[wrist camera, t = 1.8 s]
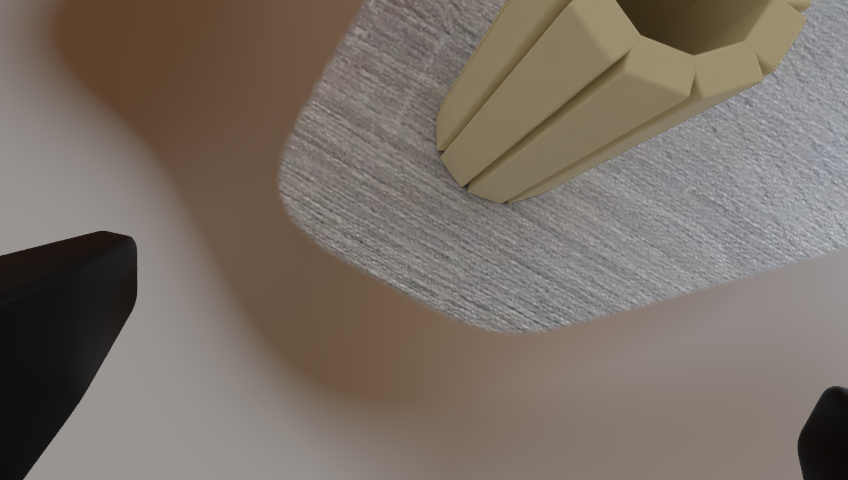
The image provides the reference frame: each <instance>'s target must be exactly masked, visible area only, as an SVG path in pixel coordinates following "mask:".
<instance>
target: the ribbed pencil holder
mask: <svg viewBox="0 0 848 480" xmlns="http://www.w3.org/2000/svg"><path fill="white" fill-rule="evenodd" d="M810 6H811V0H506V2H505V3H504V5H503V6H502V8H501V9H500V11H499V13H498V14H497V16H496V17H495V19H494V21H493V22H492V24H491V25H490V27H489V29H488V30H487V32H486V33H485V35H484V37H483V38H482V40H481V41H480V43H479V44H478V46H477V48H476V49H475V51H474V52H473V54H472V56H471V57H470V59H469V60H468V62H467V64H466V65H465V67H464V68H463V70H462V71H461V73H460V75H459V76H458V78H457V79H456V81H455V83H454V84H453V86H452V87H451V89H450V91H449V92H448V94H447V95H446V97H445V99H444V100H443V102H442V103H441V105H440V111H439V112H438V114H437V150H438V151H445V152H444V153H443V154H442V155H441V157H440V159H441V161H442V162H443V164H444V165H445V166H446V168H447V169H448V170H449V172H450V173H451V175H452V176H453V177H454V179H455V180H456V182H457V183H458V184H459V186H460V187H463V186H464V185H466V184H467V183H469V182H470V183H469V187H468V190H467V191H468V193H471V194H473V195H476V196H479V197H482V198H485V199H488V200H491V201H494V202H496V203H499V204H501V203H503V202H505V201H507V202H508V204H511V203H515V202H518V201H521V200H524V199H527V198H530V197H534V196H537V195H540V194H542V193H544V192H546V191H548V190H550V189H552V188H554V187H556V186H558V185H560V184H562V183H564V182H566V181H568V180H570V179H572V178H574V177H576V176H577V175H579V174H581V173H583V172H585V171H587V170H589V169H591V168H593V167H595V166H597V165H599V164H601V163H603V162H605V161H607V160H609V159H611V158H613V157H615V156H617V155H619V154H621V153H623V152H625V151H627V150H629V149H630V148H632V147H634V146H636V145H638V144H640V143H642V142H644V141H646V140H648V139H650V138H652V137H654V136H656V135H658V134H660V133H662V132H664V131H666V130H668V129H670V128H672V127H674V126H676V125H678V124H680V123H681V122H683V121H685V120H687V119H689V118H691V117H693V116H695V115H697V114H699V113H701V112H703V111H705V110H707V109H709V108H711V107H713V106H715V105H717V104H719V103H721V102H723V101H725V100H727V99H729V98H731V97H733V96H734V95H736V94H738V93H740V92H742V91H744V90H746V89H748V88H750V87H752V86H754V85H756V84H758V83H760V82H762V81H763V80H764V76H766V75H768V74H770V73H772V72H773V71H775V70H776V68H777V67H778V65H779V64H780V62H781V61H782V59H783V58H784V56H785V54H786V53H787V51H788V50H789V48H790V47H791V45H792V44H793V42H794V41H795V39H796V37H797V36H798V34H799V33H800V31H801V30H802V28H803V27H804V25H805V23H806V21H807V19H806V18H805V17H804V16H803V15H802V14H801V12H802V11H804V10H806V9H807V8H809V7H810Z"/></svg>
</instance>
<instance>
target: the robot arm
mask: <svg viewBox="0 0 848 480" xmlns="http://www.w3.org/2000/svg"><path fill="white" fill-rule="evenodd" d="M136 298H137V247H136V243H135V241H134V240H133V238H132V237H129V236H126V235H122V234H117V233H112V232H108V231H98V232H94V233H90V234H86V235H82V236H78V237H74V238H70V239H66V240H62V241H58V242H54V243H50V244H46V245H42V246H38V247H34V248H30V249H26V250H22V251H18V252H14V253H10V254H6V255H2V256H0V480H23V479H24V478H25V476H26V475H27V474H28V472H29V471H30V469H31V468H32V467H33V465H34V464H35V463H36V461H37V460H38V459H39V457H40V456H41V455H42V453H43V452H44V451H45V449H46V448H47V446H48V445H49V444H50V442H51V441H52V439H53V438H54V437H55V436H56V434H57V433H58V432H59V430H60V429H61V427H62V426H63V425H64V423H65V422H66V421H67V419H68V418H69V416H70V415H71V414H72V412H73V411H74V409H75V408H76V406H77V405H78V404H79V402H80V400H81V399H82V397H83V396H84V394H85V392H86V391H87V389H88V387H89V386H90V384H91V382H92V380H93V379H94V377H95V375H96V373H97V371H98V370H99V368H100V366H101V365H102V363H103V361H104V359H105V358H106V356H107V354H108V352H109V351H110V349H111V347H112V345H113V343H114V342H115V340H116V338H117V336H118V335H119V333H120V331H121V329H122V327H123V326H124V324H125V322H126V321H127V319H128V317H129V315H130V314H131V312H132V310H133V308H134V305H135V302H136ZM798 456H799V461H800V465H801V470H802V474H803V479H804V480H848V388H844V387H838V386H833V387H830V388H828V389H827V390H825V391H824V393H823V394H822V395H821V397H820V399H819V400H818V402H817V404H816V406H815V408H814V410H813V411H812V413H811V415H810V417H809V419H808V420H807V422H806V424H805V426H804V427H803V429H802V431H801V433H800V436H799V439H798Z"/></svg>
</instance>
